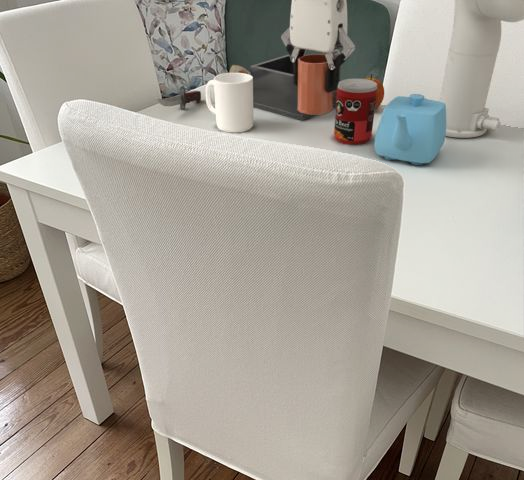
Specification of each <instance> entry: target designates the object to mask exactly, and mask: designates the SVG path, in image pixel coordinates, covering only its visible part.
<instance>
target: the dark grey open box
mask: <svg viewBox="0 0 524 480" xmlns="http://www.w3.org/2000/svg"><path fill="white" fill-rule="evenodd" d="M290 58H291V56H290V55H289V54H285V55H282V56H279V57H275V58H273V59H270V60H266V61H262V62H259V63H256V64H253V65H250V66H249V72H250V75H251V76H252V77H253V108H256V109H259V110H262V111H267V112H271V113H274V114H277V115H281V116H284V117H289V118H291V119H295V120H299V121H302V122H303V121H306V120H308V119H310V118H313V117H315V116H316V115H310V114H304V113H301V112H299V111H298V109H297V85H294V77H293V62H292V61H291V59H290ZM341 76H342V66H341V67H340V70H339V82H340V81H341V79H342V78H341ZM336 99H337V89H336V90H334V91H333V106H332V109H334V108H336Z"/></svg>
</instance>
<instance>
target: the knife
mask: <svg viewBox="0 0 524 480" xmlns="http://www.w3.org/2000/svg"><path fill="white" fill-rule="evenodd" d="M201 92H202V91H201V90H190V91H187V92H186V88H185V87H180V88H179V94H177V95H173V96H169V97H165V98H156V100H157V102H158V104H160V105H161V106H164V107H175V106H179V107H180V109H181V110H186V105H187V104H190V103H194V102H197V103H199V102H201V101H202V93H201Z"/></svg>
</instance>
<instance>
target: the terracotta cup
mask: <svg viewBox="0 0 524 480" xmlns="http://www.w3.org/2000/svg"><path fill="white" fill-rule="evenodd" d="M334 60H335V59H334ZM327 69H329V66H328V62H327V59H326V56H325V53H309V54H305V55H304V56H301V57H299V58H298V74H297V109H298V111H299V112H301V113H304V114H310V115H315V116H318V115H324V114H328V113H330V112H332V110H333V108H332V106H333V91H331V92H329V93H328V92H326V91H325V83H326V70H327Z"/></svg>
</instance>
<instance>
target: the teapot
mask: <svg viewBox="0 0 524 480" xmlns="http://www.w3.org/2000/svg"><path fill="white" fill-rule="evenodd" d="M439 101H440V100H433V99H427V98H426V97H425V95H423V94H420V93H412V94H410V95H409V96H400V95H399V96H396V97H394V98H393V99H392V100H390V102H389V103H387V104H386V105H385V106H384V109H383V111H382V114H381V116H380V119H379V121H378V125H377V129H376V132H375V137H374V143H373V144H374V146H373V147H374V150H375V154H376V155H378V156H381V157H384V159H385V160H387V161H393V160H399V161H404V162H410V164H412V165H414V166H421V165H423V164H429V163H431V162H432V161H434V159H436V157H437V156H438V154H439V153H440V151H441V150H442V147H443V146H444V143H445V140H446V137H447V136H446V123H447V122H446V105H445V103H443V102H439Z"/></svg>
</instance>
